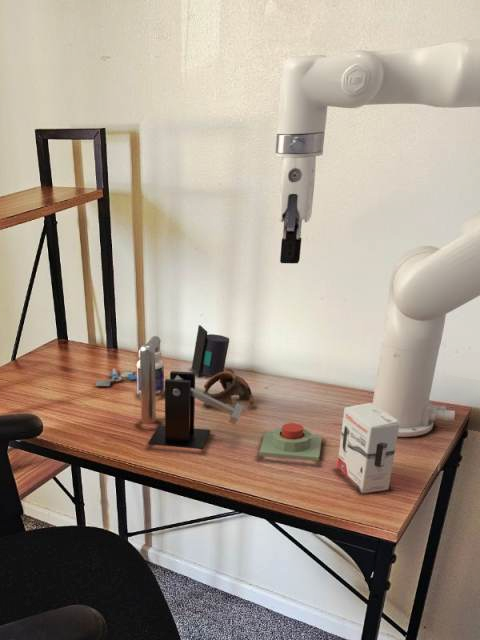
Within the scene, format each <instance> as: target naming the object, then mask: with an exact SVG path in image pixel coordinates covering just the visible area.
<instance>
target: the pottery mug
mask: <svg viewBox="0 0 480 640" xmlns="http://www.w3.org/2000/svg"><path fill="white" fill-rule="evenodd" d="M217 382H219V384H220V385H221V387H222V388H223V390H222V391H220V392H217V393H210V392H209V390H210V389H211V388H212V386H214V385H215V384H216V383H217ZM203 387H204V390H203V391H202V393H204V394H206V395H208V396H210V397H212V398H214V399H216V400H218V401H220V402H222V403H224V404H226V405H234V403H233V396H238V400H239V401H248V403H249V404H250V406H253V405H254V398H253V393H252V389H251V387H250V385H249V384H248V382H247V381H246V379H244V378H242V377H241V376H239V375H236V374H235V371H234V370H233V369H230V368H227V369H226V370H225V369H224V371H223V372H220V373H218V374H216V375H214V376H211V377H210V378H209V379H208V380H207V381H206V382H205V384H204V386H203ZM203 403H204V405H205V406H207V407H212V406H211V405H209V404H207V403H205V402H203Z"/></svg>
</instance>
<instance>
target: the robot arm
mask: <svg viewBox="0 0 480 640" xmlns="http://www.w3.org/2000/svg"><path fill="white" fill-rule="evenodd" d="M279 80H280V81H279V96H278V97H279V98H278V109H277V111H278V113H277V126H276V138H275V152H274V155H275V157H276V158H281V159H282V160H281V171H280V182H279V183H280V185H279V203H278V205H279V206H278V207H279V208H278V210H279V211H278V212H279V213H278V219H279V221H280V222H281V223H283V230H282V231H283V232H282V239H281V245H280V256H279V262H280V264H299V262H300V260H301V248H302V237H301V235H302V225H303V220H304V223H308V222H309V221H310V219H311V217H312V213H313V203H314V202H313V201H314V191H315V180H316V178H315V177H316V164H317V163H316V162H317V159H316V158H317V157H319V156H323V155H324V154H323V153H324V146H325V145H324V143H325V134H326V125H327V115H328V107H334V108H342V109H343V108H344V109H357V108H361V107H363V106H372V105H374V106H375V105H376V106H377V105H424V106H429V107H434V108H449V109H456V108H480V39H463V40H456V41H449V42H445V43H441V44H436V45H433V46H431V45H430V46H426V47H425V46H423V47H416V48H403V49H384V50H383V49H382V50H365V49H357V50H353V51H348V52H344V53H339V54H333V55H328V56H326V55H323V54H311V55H309V54H308V55H299V56H291V57H289V58H287V59H285V60H284V62H283V63H282V66H281V70H280V79H279ZM389 281H390V282H389V290H388V299H387V307H386V316H385V321H384V322H385V323H384V329H383V335H382V340H381V347H380V351H379V352H380V353H379V359H378V367H377V372H376V379H375V385H374V391H373V397H372V403H374V404H375V405H376V406H378V407H380V408H381V409H382V410H384V411H385V412H387V413H388V414H389V415H391V416H392V417H394V418H395V419H397V420H398V423H399V430H398V436H397V438H410V437H418V436H424V435H426V434H428V433H429V432H430V431H432V430H433V428H434V425H435V423H434V422H435V420H437V421H439V420H441V421H443V422H444V421H446V422H454V421H455V416H456V410H451V409H447V406H446V405H433V403H431V399H430V397H431V391H432V386H433V383H434V382H433V381H434V378H435V377H434V376H435V372H436V366H437V361H438V357H439V352H440V348H441V343H442V339H443V334H444V328H445V324H446V317H447V314H449V313H451V312H453V311H454V310H456V309H458V308H460V307H462V306H464V305H465V304H467V303H469V302H471V301H473V300H474V299H476V298H479V296H480V210H478V211H477V212H476V213H474V214H472V215H471V216H470V217H468V218H467V219H466V220H465V221H464V223H462V225H461V226H460V228H459V230H458V233H457V236H456V239H454V240H452V241H451V242H450V243H448V244H446V245H444V246H443V247H441V248H438V247H436V246H432V245H422V246H417V247H414V248H412V249H410V250H408V251H406V252H405V253H404V254H403V255H402V256H401V257H400V258H399V259H398V260H397V262H396V263H395V265H394V267H393V269H392V273H391V276H390V280H389Z"/></svg>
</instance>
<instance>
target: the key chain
mask: <svg viewBox="0 0 480 640" xmlns="http://www.w3.org/2000/svg"><path fill="white" fill-rule="evenodd" d="M109 376H110V377H111V379H104V380H103V379H99V380H96V382H95V384H94V386H95V387H110V385H111V384H112V383H114V382H121V381H122V380H127V379H128V380H132V381H134V380H137V375H135V374H134V372H133V371H128V370H125V371H123V372H122V373H121V374H119V373H118V371H117V369H116V368H112V373H109Z"/></svg>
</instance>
